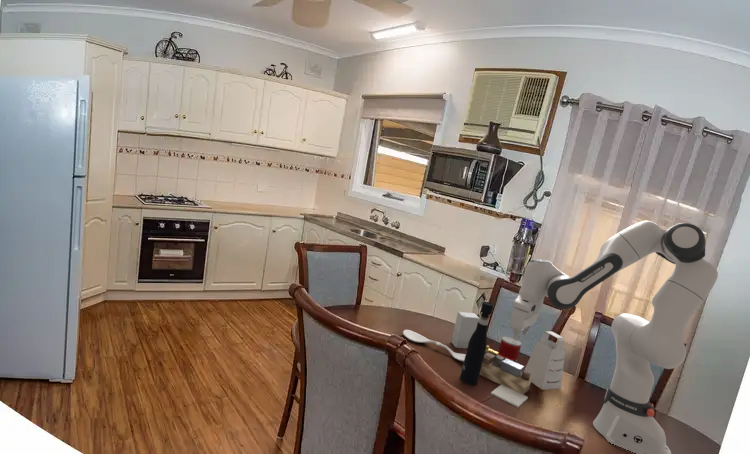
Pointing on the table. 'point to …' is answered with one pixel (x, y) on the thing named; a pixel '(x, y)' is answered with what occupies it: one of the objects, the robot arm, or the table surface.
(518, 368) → the grey metal block
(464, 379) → the wine bottle
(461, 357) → the spoon
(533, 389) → the table surface
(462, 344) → the skincare box
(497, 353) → the latch bar
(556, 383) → the grater
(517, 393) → the felt mat
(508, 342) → the canned food
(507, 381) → the plane body
